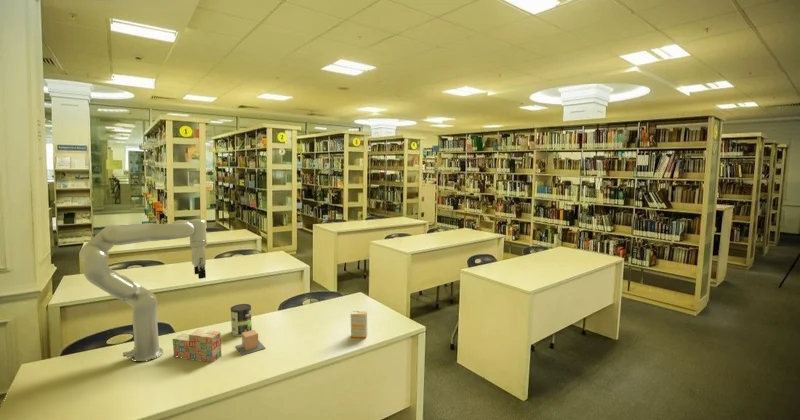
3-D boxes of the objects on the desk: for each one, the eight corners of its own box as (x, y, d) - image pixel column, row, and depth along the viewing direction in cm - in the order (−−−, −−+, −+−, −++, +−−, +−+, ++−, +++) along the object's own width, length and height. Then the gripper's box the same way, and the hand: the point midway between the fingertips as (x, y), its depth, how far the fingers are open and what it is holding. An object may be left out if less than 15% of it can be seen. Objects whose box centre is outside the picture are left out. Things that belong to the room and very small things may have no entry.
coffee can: (255, 328, 212) (254, 303, 210) (247, 336, 202) (246, 310, 200) (236, 327, 212) (235, 303, 211) (228, 336, 202) (226, 310, 200)
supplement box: (367, 334, 205) (367, 310, 204) (365, 338, 201) (365, 314, 199) (352, 333, 206) (352, 310, 205) (350, 337, 201) (350, 313, 200)
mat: (242, 355, 181) (242, 354, 181) (235, 346, 190) (235, 345, 190) (265, 348, 188) (265, 347, 188) (258, 340, 197) (258, 339, 197)
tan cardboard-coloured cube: (246, 350, 185) (245, 337, 184) (242, 346, 189) (241, 332, 189) (258, 347, 189) (258, 333, 188) (254, 342, 193) (254, 329, 192)
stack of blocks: (173, 357, 179) (171, 332, 178) (183, 351, 185) (182, 327, 184) (212, 362, 175) (211, 337, 173) (222, 356, 181) (220, 331, 179)
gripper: (186, 241, 199) (188, 273, 200) (193, 247, 185) (195, 281, 187) (202, 239, 203) (204, 271, 205) (210, 245, 190) (212, 278, 192)
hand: (200, 276), depth 196 cm, fingers open, 9 cm apart
